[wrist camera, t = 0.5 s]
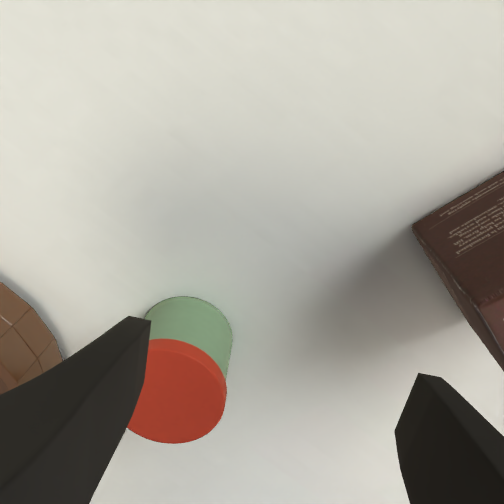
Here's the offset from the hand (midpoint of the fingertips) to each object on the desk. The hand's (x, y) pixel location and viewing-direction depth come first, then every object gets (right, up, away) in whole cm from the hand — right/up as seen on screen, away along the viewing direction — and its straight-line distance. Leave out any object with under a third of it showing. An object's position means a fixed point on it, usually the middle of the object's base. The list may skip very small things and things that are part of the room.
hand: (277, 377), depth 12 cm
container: (-4, -1, +11) cm, 12 cm away
